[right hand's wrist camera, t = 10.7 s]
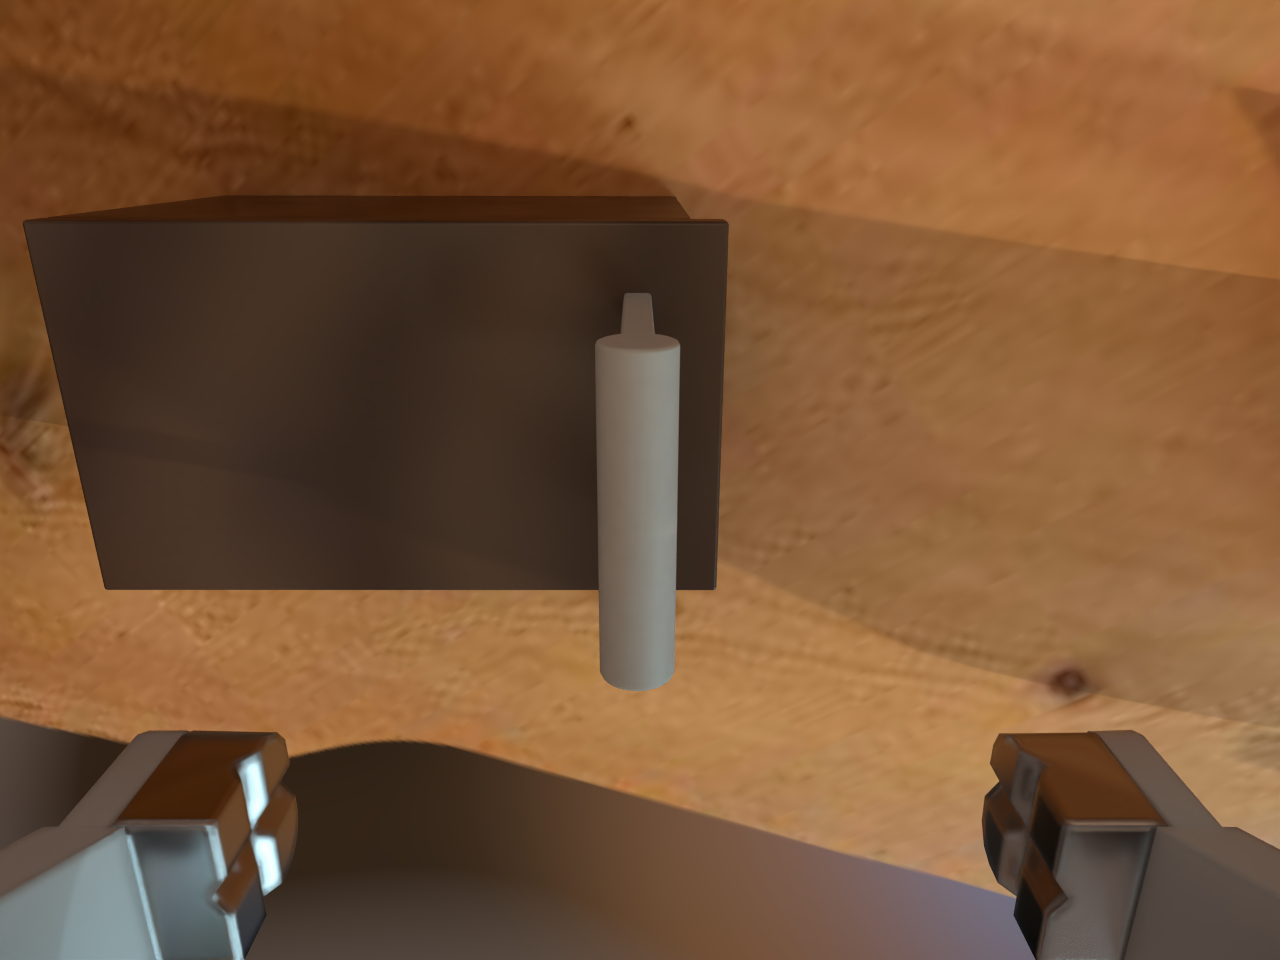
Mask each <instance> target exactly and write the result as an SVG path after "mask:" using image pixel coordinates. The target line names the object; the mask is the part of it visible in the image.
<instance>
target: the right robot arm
mask: <svg viewBox="0 0 1280 960" xmlns="http://www.w3.org/2000/svg"><path fill="white" fill-rule="evenodd" d="M289 764H290V761H289V757H288V752H287V747H286V742H285V739H284V738H283V737H282V736H281V735H280V734H278V733H277V732H232V731H191V732H189V731H147V732H144V733H141V734H138V735H137V736H136V737H135V738H134V739H133V740H132V741H131V743H130V744H129V745H128V746H127V747H126V748H125V750H124V751H123V752H122V753H121V754H120V755H119V757H118V758H117V759H116V760H115V761H114V762H113V763H112V765H111V766H110V767H109V768H108V769H107V770H106V772H105V773H104V774H103V775H102V776H101V777H100V779H99V780H98V781H97V782H96V783H95V784H94V786H93V787H92V788H91V789H90V790H89V791H88V793H87V794H86V795H85V796H84V797H83V798H82V800H81V801H80V802H79V803H78V804H77V805H76V806H75V808H74V809H73V810H72V811H71V812H70V813H69V815H68V816H67V817H66V818H65V819H64V820H63V822H62V823H61V824H60V825H59V826H58V827H43V828H41V829H39V830H37V831H35V832H33V833H31V834H29V835H27V836H25V837H24V838H22V839H20V840H18V841H16V842H14V843H12V844H10V845H8V846H6V847H4V848H2V849H0V960H245V958H246V956H247V954H248V951H249V949H250V947H251V945H252V943H253V941H254V939H255V937H256V935H257V933H258V931H259V929H260V927H261V925H262V923H263V921H264V919H265V917H266V910H265V904H264V898H263V896H265V895H266V894H267V893H269V892H270V891H271V890H273V889H274V888H276V887H277V886H278V885H280V884H281V883H282V882H283V879H284V877H285V875H286V873H287V871H288V869H289V867H290V864H291V862H292V858H293V853H294V849H295V844H296V840H297V832H298V812H297V805H296V799H295V796H294V795H293V793H292V792H291V791H289V789H288V788H286V786H285V785H284V784H283V783H282V782H281V779H282V777H283V775H284V773H285V772H286V770H287V768H288V766H289ZM990 765H991V766H992V768H993V770H994V772H995V774H996V775H997V777H998V779H999V782H998V783H997V784H996V785H995V786H994V787H993V788H992V789H991V790H990V791H989V792H988V793H987V794H986V795H985V799H984V807H983V815H982V828H983V839H984V847H985V851H986V854H987V858H988V861H989V865H990V867H991V869H992V871H993V873H994V875H995V878H996V880H997V882H998V883H999V884H1000V885H1002V886H1003V887H1004V888H1006V889H1007V890H1009V891H1010V892H1011V893H1013V894H1014V895H1015V896H1017V898H1016V904H1015V910H1014V917H1015V919H1016V921H1017V923H1018V925H1019V927H1020V929H1021V931H1022V933H1023V935H1024V937H1025V939H1026V941H1027V943H1028V945H1029V947H1030V949H1031V951H1032V953H1033V955H1034V957H1035V959H1036V960H1280V850H1279V849H1277V848H1276V847H1274V846H1272V845H1270V844H1268V843H1266V842H1264V841H1262V840H1260V839H1258V838H1256V837H1255V836H1253V835H1251V834H1249V833H1247V832H1245V831H1243V830H1241V829H1239V828H1237V827H1222V826H1221V825H1220V824H1219V823H1218V822H1217V820H1216V819H1215V818H1214V817H1213V816H1212V815H1211V813H1210V812H1209V811H1208V810H1207V809H1206V808H1205V807H1204V805H1203V804H1202V803H1201V802H1200V801H1199V800H1198V798H1197V797H1196V796H1195V795H1194V794H1193V793H1192V791H1191V790H1190V789H1189V788H1188V787H1187V786H1186V784H1185V783H1184V782H1183V781H1182V780H1181V779H1180V778H1179V776H1178V775H1177V774H1176V773H1175V772H1174V771H1173V769H1172V768H1171V767H1170V766H1169V765H1168V764H1167V762H1166V761H1165V760H1164V759H1163V758H1162V757H1161V755H1160V754H1159V753H1158V752H1157V751H1156V750H1155V749H1154V747H1153V746H1152V745H1151V744H1150V743H1149V742H1148V740H1147V739H1146V738H1145V737H1144V736H1143V735H1141V734H1139V733H1137V732H1135V731H1133V730H1114V731H1088V732H1087V733H999V735H998V737H997V739H996V741H995V743H994V745H993V750H992V755H991V761H990Z"/></svg>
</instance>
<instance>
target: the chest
mask: <svg viewBox="0 0 1280 960" xmlns="http://www.w3.org/2000/svg"><path fill="white" fill-rule="evenodd" d="M48 218H388V219H690V217H689V216H688V215H687V213H686V212H685V210H684V209H683V208H682V206H681V205H680V203H679V202H678V201H677V199H676V197H670V196H217V197H209V198H201V199H193V200H185V201H177V202H169V203H160V204H152V205H144V206H136V207H128V208H120V209H111V210H103V211H95V212H87V213H79V214H71V215H63V216H54V217H48Z"/></svg>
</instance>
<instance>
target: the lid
mask: <svg viewBox="0 0 1280 960" xmlns="http://www.w3.org/2000/svg"><path fill="white" fill-rule="evenodd" d="M23 227H24V231H25V235H26V240H27V244H28V249H29V253H30V258H31V262H32V267H33V271H34V275H35V280H36V284H37V289H38V293H39V298H40V302H41V307H42V311H43V316H44V320H45V324H46V329H47V333H48V338H49V342H50V347H51V351H52V356H53V360H54V364H55V369H56V373H57V378H58V382H59V387H60V391H61V396H62V400H63V404H64V409H65V413H66V418H67V422H68V427H69V431H70V436H71V440H72V445H73V449H74V453H75V458H76V462H77V467H78V471H79V476H80V480H81V485H82V489H83V493H84V498H85V502H86V507H87V511H88V516H89V520H90V525H91V529H92V534H93V538H94V542H95V547H96V551H97V556H98V560H99V565H100V569H101V574H102V578H103V582H104V587H105V589H107V590H599V636H600V672H601V674H602V676H603V678H604V679H605V681H607V682H608V683H609V684H611V685H612V686H614V687H617V688H620V689H624V690H630V691H644V690H651V689H654V688H657V687H660V686H662V685H664V684H665V683H667V682H668V681H669V680H670V679H671V677H672V675H673V673H674V667H675V610H676V590H714V589H715V588H716V578H717V549H718V520H719V491H720V462H721V433H722V404H723V375H724V346H725V317H726V288H727V259H728V230H729V225H728V222H727V221H726V220H724V219H388V218H38V219H30V220H25V221H24V222H23Z"/></svg>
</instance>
